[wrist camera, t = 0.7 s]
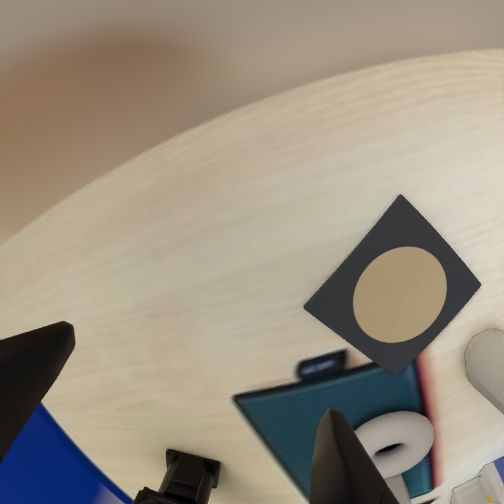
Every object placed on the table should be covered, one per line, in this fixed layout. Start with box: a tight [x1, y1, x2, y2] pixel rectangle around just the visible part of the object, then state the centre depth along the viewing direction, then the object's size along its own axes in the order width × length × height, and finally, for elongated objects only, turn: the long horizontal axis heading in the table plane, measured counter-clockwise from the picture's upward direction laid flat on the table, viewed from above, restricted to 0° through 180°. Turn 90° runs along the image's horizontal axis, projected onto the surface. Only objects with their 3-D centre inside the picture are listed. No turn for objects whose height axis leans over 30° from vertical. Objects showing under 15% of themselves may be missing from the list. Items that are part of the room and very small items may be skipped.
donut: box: [354, 411, 434, 478], centre depth 25 cm, size 10×3×10 cm
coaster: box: [304, 195, 481, 377], centre depth 22 cm, size 11×11×1 cm
